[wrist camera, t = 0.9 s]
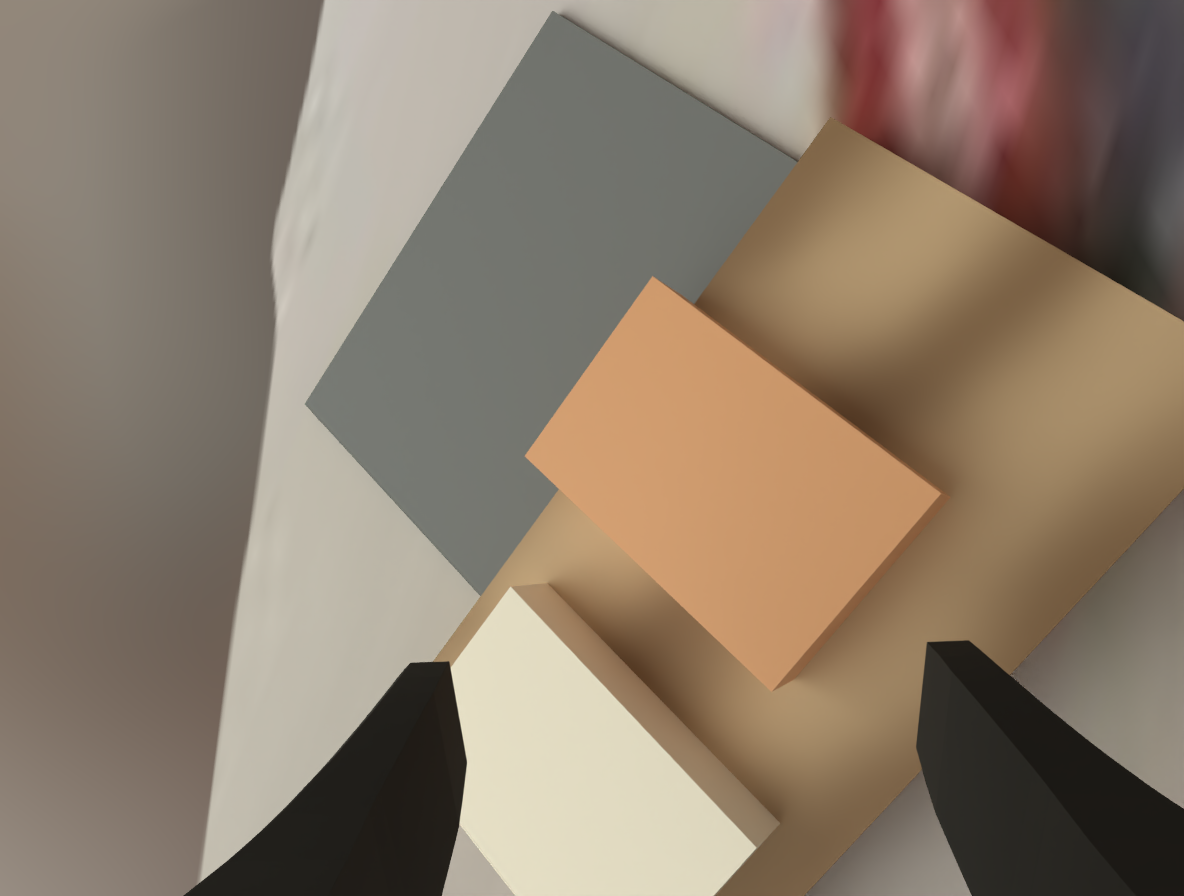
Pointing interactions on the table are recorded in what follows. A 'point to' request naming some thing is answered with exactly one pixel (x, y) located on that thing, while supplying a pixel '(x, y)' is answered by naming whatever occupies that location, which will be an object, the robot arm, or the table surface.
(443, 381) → the mat
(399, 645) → the table surface
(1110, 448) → the deck
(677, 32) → the table surface
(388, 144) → the table surface
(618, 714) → the cream rectangular block
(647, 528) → the orange rectangular block
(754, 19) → the table surface
